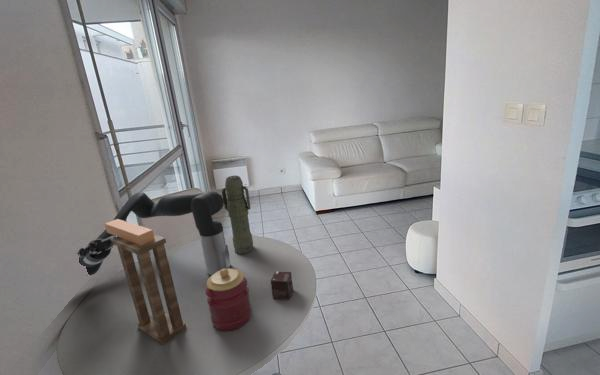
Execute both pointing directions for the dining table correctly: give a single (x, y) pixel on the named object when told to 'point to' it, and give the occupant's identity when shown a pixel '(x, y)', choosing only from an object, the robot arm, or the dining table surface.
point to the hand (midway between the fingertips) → (108, 239)
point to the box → (282, 285)
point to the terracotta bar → (130, 231)
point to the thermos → (238, 213)
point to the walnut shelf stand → (151, 288)
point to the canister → (228, 299)
